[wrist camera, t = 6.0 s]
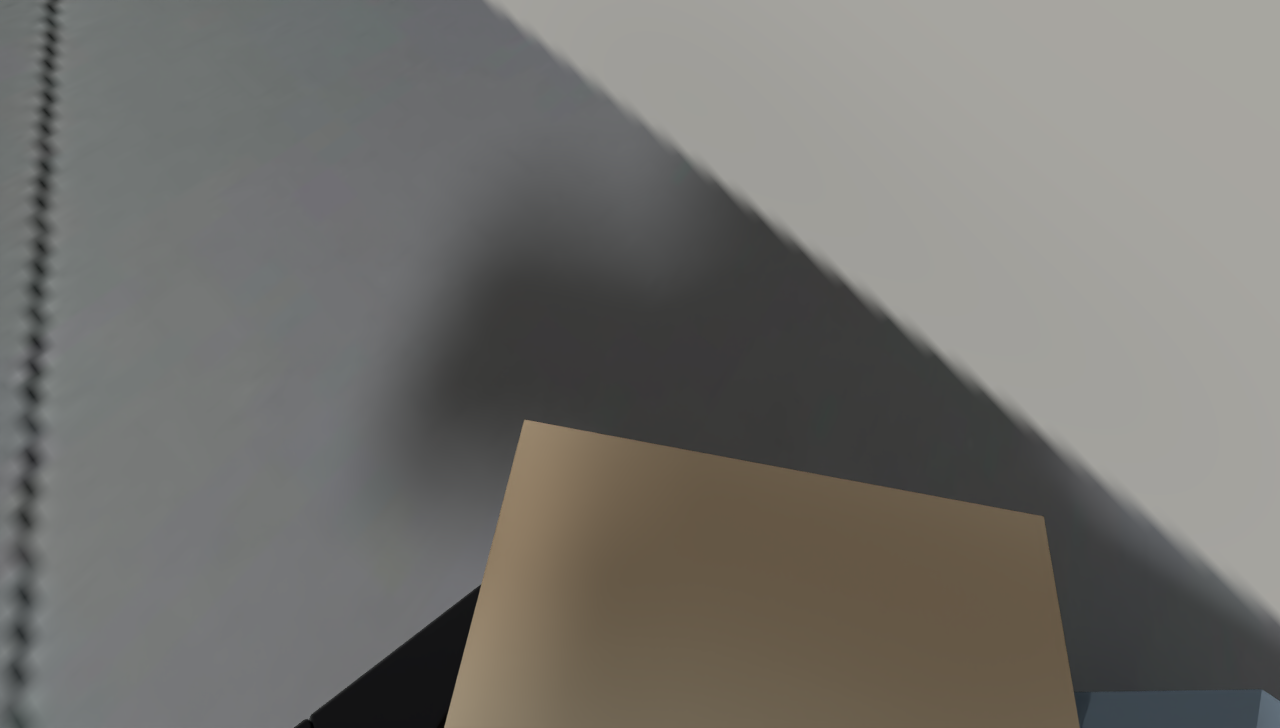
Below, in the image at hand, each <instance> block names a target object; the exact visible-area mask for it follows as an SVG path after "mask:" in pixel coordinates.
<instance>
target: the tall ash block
mask: <svg viewBox="0 0 1280 728" xmlns="http://www.w3.org/2000/svg"><path fill="white" fill-rule="evenodd" d="M444 728H1080V726H1079V720H1078V714H1077V708H1076V702H1075V696H1074V691H1073V685H1072V679H1071V673H1070V667H1069V661H1068V655H1067V650H1066V644H1065V638H1064V632H1063V626H1062V620H1061V615H1060V609H1059V603H1058V597H1057V591H1056V585H1055V579H1054V574H1053V568H1052V562H1051V556H1050V550H1049V544H1048V538H1047V533H1046V527H1045V521H1044V516H1039V515H1034V514H1028V513H1023V512H1018V511H1012V510H1007V509H1001V508H996V507H991V506H985V505H980V504H975V503H969V502H964V501H959V500H953V499H948V498H942V497H937V496H932V495H926V494H921V493H916V492H910V491H905V490H900V489H894V488H889V487H883V486H878V485H873V484H867V483H862V482H857V481H851V480H846V479H841V478H835V477H830V476H824V475H819V474H814V473H808V472H803V471H798V470H792V469H787V468H781V467H776V466H771V465H765V464H760V463H755V462H749V461H744V460H739V459H733V458H728V457H722V456H717V455H712V454H706V453H701V452H696V451H690V450H685V449H680V448H674V447H669V446H663V445H658V444H653V443H647V442H642V441H637V440H631V439H626V438H621V437H615V436H610V435H604V434H599V433H594V432H588V431H583V430H578V429H572V428H567V427H561V426H556V425H551V424H545V423H540V422H535V421H529V420H524V423H523V426H522V430H521V434H520V438H519V442H518V446H517V449H516V453H515V457H514V461H513V465H512V469H511V473H510V476H509V480H508V484H507V488H506V492H505V496H504V499H503V503H502V507H501V511H500V515H499V519H498V523H497V526H496V530H495V534H494V538H493V542H492V546H491V549H490V553H489V557H488V561H487V565H486V569H485V573H484V576H483V580H482V584H481V588H480V592H479V596H478V599H477V603H476V607H475V611H474V615H473V619H472V623H471V626H470V630H469V634H468V638H467V642H466V646H465V649H464V653H463V657H462V661H461V665H460V669H459V673H458V676H457V680H456V684H455V688H454V692H453V696H452V699H451V703H450V707H449V711H448V715H447V719H446V723H445V726H444Z"/></svg>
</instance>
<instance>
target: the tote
mask: <svg viewBox="0 0 1280 728" xmlns="http://www.w3.org/2000/svg"><path fill="white" fill-rule="evenodd" d="M1074 696H1075V702H1076V708H1077V714H1078V720H1079V726H1080V728H1280V701H1279V700H1277V699H1276V698H1274V697H1273V696H1271V695H1270V694H1268V693H1267V692H1265V691H1264V690H1262V689H1250V690H1184V691H1119V692H1074Z"/></svg>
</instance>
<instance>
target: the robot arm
mask: <svg viewBox="0 0 1280 728" xmlns="http://www.w3.org/2000/svg"><path fill="white" fill-rule="evenodd" d="M480 588H481V585H480V586H478V587H477V588H476V589H474V590H473V591H472V592H470V593H469V594H468V595H467V596H465V597H464V598H463V599H461V600H460V601H459V602H457V603H456V604H455V605H453V606H452V607H451V608H450V609H448V610H447V611H446V612H444V613H443V614H442V615H440V616H439V617H438V618H437V619H435V620H434V621H433V622H431V623H430V624H429V625H427V626H426V627H425V628H424V629H422V630H421V631H420V632H418V633H417V634H416V635H414V636H413V637H412V638H411V639H409V640H408V641H407V642H405V643H404V644H403V645H401V646H400V647H399V648H397V649H396V650H395V651H394V652H392V653H391V654H390V655H388V656H387V657H386V658H384V659H383V660H382V661H381V662H379V663H378V664H377V665H375V666H374V667H373V668H371V669H370V670H369V671H368V672H366V673H365V674H364V675H362V676H361V677H360V678H358V679H357V680H356V681H354V682H353V683H352V684H351V685H349V686H348V687H347V688H345V689H344V690H343V691H341V692H340V693H339V694H338V695H336V696H335V697H334V698H332V699H331V700H330V701H328V702H327V703H326V704H325V705H323V706H322V707H321V708H319V709H318V710H317V711H315V712H314V713H313V714H312V715H311V716H310V719H309V720H308V719H305V720H303V721H302V722H301V723H299V724H298V725H297V726H295V727H294V728H444V726H445V723H446V719H447V715H448V711H449V707H450V703H451V699H452V696H453V692H454V688H455V684H456V680H457V676H458V673H459V669H460V665H461V661H462V657H463V653H464V649H465V646H466V642H467V638H468V634H469V630H470V626H471V623H472V619H473V615H474V611H475V607H476V603H477V599H478V596H479V592H480Z"/></svg>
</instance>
